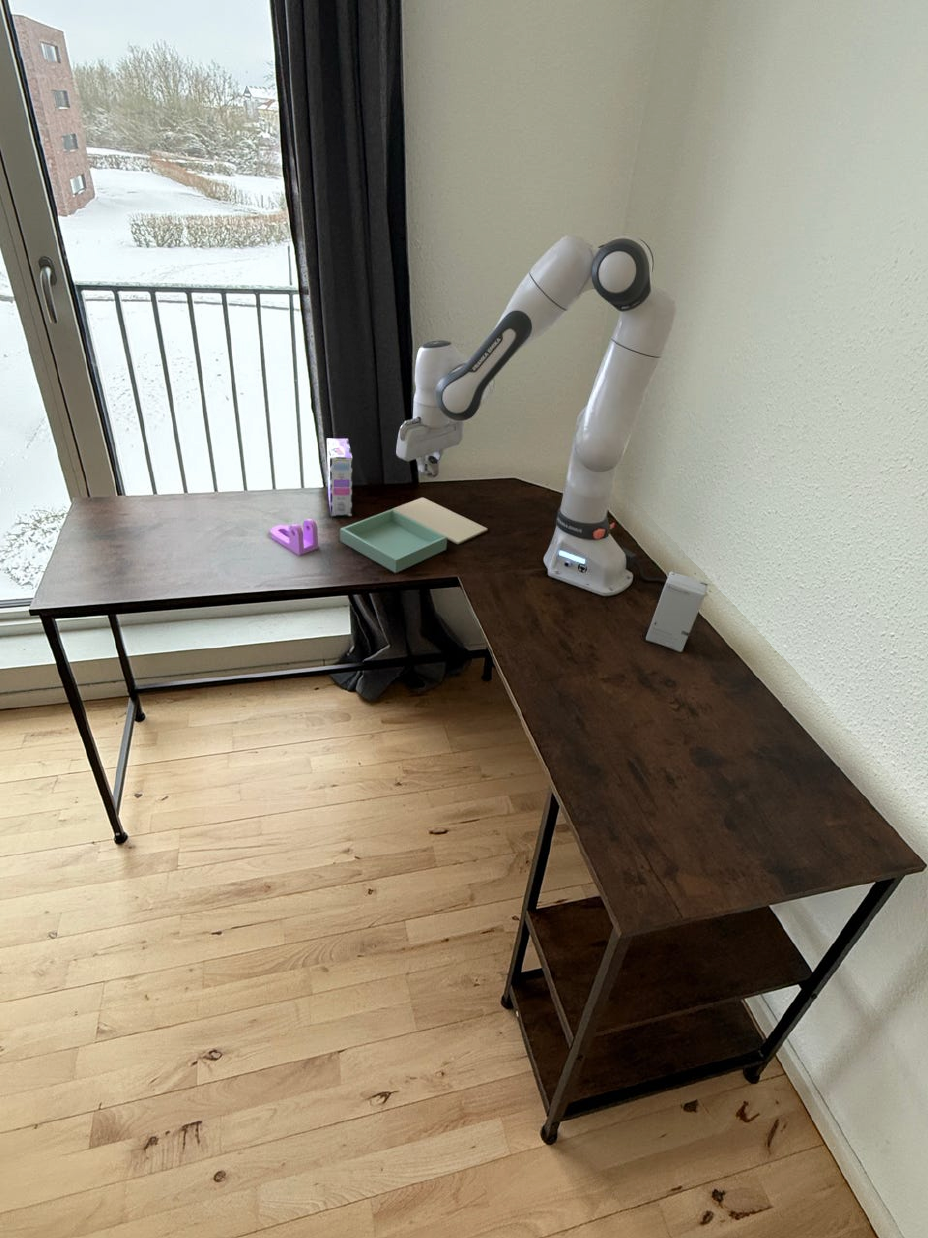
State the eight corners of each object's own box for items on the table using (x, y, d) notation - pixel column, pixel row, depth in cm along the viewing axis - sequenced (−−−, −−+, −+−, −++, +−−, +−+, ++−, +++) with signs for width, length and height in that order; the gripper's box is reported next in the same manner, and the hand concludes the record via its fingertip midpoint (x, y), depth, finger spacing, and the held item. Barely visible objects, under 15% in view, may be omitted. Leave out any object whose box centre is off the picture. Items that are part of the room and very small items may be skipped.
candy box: (352, 516, 177) (353, 457, 167) (330, 517, 175) (329, 457, 166) (348, 494, 187) (348, 437, 178) (327, 494, 186) (326, 436, 177)
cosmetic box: (644, 640, 143) (663, 582, 135) (650, 626, 148) (668, 569, 140) (683, 653, 141) (705, 594, 133) (688, 638, 146) (709, 581, 137)
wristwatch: (431, 480, 164) (432, 460, 161) (415, 471, 167) (416, 452, 165) (441, 477, 166) (443, 458, 163) (425, 468, 169) (427, 450, 167)
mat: (487, 530, 178) (487, 528, 178) (457, 544, 170) (458, 542, 170) (422, 498, 190) (422, 497, 189) (391, 510, 182) (392, 508, 182)
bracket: (318, 548, 162) (317, 522, 158) (299, 555, 158) (298, 529, 154) (285, 527, 168) (283, 502, 164) (266, 534, 165) (264, 508, 161)
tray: (446, 549, 167) (447, 537, 165) (395, 573, 156) (396, 560, 154) (391, 520, 177) (392, 508, 175) (340, 541, 166) (340, 528, 164)
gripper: (410, 426, 149) (408, 483, 157) (469, 409, 163) (464, 462, 171) (390, 418, 152) (389, 475, 160) (449, 402, 166) (445, 455, 174)
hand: (428, 468), depth 166 cm, fingers closed on wristwatch, 3 cm apart
